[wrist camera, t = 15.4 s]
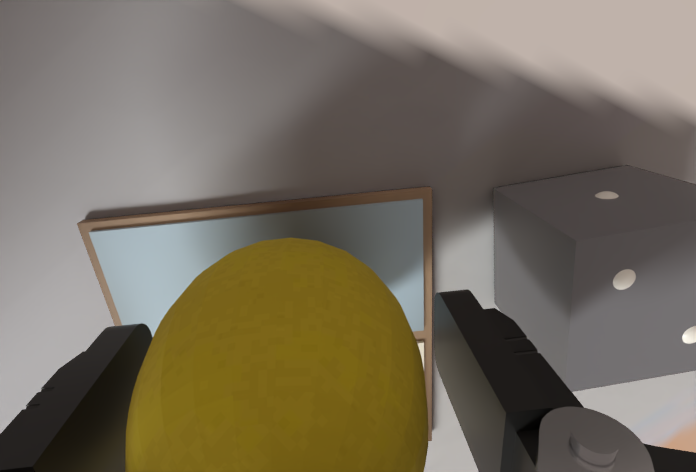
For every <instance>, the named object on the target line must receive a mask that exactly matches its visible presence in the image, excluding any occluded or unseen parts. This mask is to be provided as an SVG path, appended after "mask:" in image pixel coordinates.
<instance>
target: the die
mask: <svg viewBox="0 0 696 472" xmlns="http://www.w3.org/2000/svg"><path fill="white" fill-rule="evenodd" d="M493 208H494V289H495V304H496V305H497V307H498V308H499V309H500V310H501V312H502V313H503V314H505V315H506V316H508V317H509V318H511V319H513V320H514V321H515V322H516V323H517V325H518V326H519V327H520V328H521V330H522V331H523V332H524V333H525V335H526V336H527V339H529V340H530V341H531V342H532V343H533V345H534V346H535V347H536V348H537V351H538V353H541V355H542V356H543V357H544V358H545V360H546V361H547V362H548V363H549V365H550V366H551V367H552V368H553V370H554V371H555V372H556V373H557V375H558V376H559V377H560V378H561V380H562V381H563V382H564V383H565V384H566V386H567V387H568V388H569V389H570V391H571V392H573V391H579V390H585V389H591V388H597V387H602V386H608V385H614V384H620V383H626V382H632V381H637V380H643V379H649V378H655V377H661V376H666V375H672V374H678V373H684V372H690V371H695V370H696V185H695V184H692V183H688V182H685V181H681V180H677V179H674V178H670V177H667V176H663V175H660V174H656V173H653V172H649V171H646V170H642V169H639V168H635V167H632V166H628V165H625V166H620V167H614V168H608V169H602V170H596V171H590V172H584V173H579V174H573V175H567V176H561V177H555V178H549V179H544V180H538V181H532V182H526V183H520V184H514V185H509V186H503V187H497V188H493Z"/></svg>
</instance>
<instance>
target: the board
mask: <svg viewBox="0 0 696 472" xmlns="http://www.w3.org/2000/svg"><path fill="white" fill-rule="evenodd" d="M77 225H78V228H79V230H80V233H81V236H82V238H83V241H84V244H85V247H86V249H87V252H88V255H89V257H90V260H91V263H92V265H93V268H94V271H95V273H96V276H97V279H98V281H99V284H100V287H101V289H102V292H103V295H104V297H105V300H106V303H107V306H108V308H109V311H110V314H111V316H112V319H113V322H114V324H115V326H122V325H131V324H140V323H143V324H146V325H147V326H148V327H149V329H150V331H151V334H152V337H153V336H154V334H155V332H156V330H157V328H158V326H159V324H160V322H161V320H162V319H163V317H164V316H165V314H166V313H167V311H168V310H169V309H170V307H171V306H172V305H173V304H174V303H175V301H176V300H177V299H178V298H179V297H180V295H181V294H182V293H183V292H184V291H185V290H186V288H187V287H188V286H189V285H190V284H191V282H192V281H193V280H194V279H195V278H196V277H197V276H198V275H199V274H201V273H202V272H203V271H204V270H206V269H207V268H209V267H210V266H211V265H213V264H214V263H216V262H217V261H219V260H220V259H222V258H223V257H225V256H226V255H227V254H229V253H231V252H233V251H235V250H238V249H240V248H243V247H246V246H249V245H251V244H254V243H257V242H260V241H264V240H273V239H282V238H299V239H308V240H317V241H320V242H323V243H326V244H328V245H331V246H334V247H337V248H339V249H342V250H345V251H347V252H348V253H350V254H351V255H352V256H354V257H355V258H357V259H358V260H360V261H361V262H363V263H364V264H366V265H367V266H368V267H370V268H371V269H372V270H373V271H374V272H375V273H376V274H377V276H378V277H379V278H380V279H381V280H382V281H383V283H384V284H385V285H386V286H387V287H388V288H389V290H390V291H391V292H392V293H393V294H394V296H395V297H396V298H397V300H398V302H399V303H400V305H401V307H402V309H403V311H404V313H405V316H406V318H407V320H408V323H409V325H410V327H411V329H412V332H413V334H414V336H415V338H416V341H417V344H418V347H419V350H420V353H421V358H422V363H423V367H424V376H425V384H426V396H427V407H428V425H429V430H428V441H432V188H431V187H430V186H429V187H419V188H409V189H398V190H388V191H378V192H367V193H357V194H347V195H336V196H326V197H316V198H305V199H295V200H285V201H274V202H264V203H254V204H244V205H233V206H223V207H213V208H202V209H192V210H182V211H171V212H161V213H151V214H140V215H130V216H120V217H109V218H99V219H89V220H82V221H81V222H79V223H77Z"/></svg>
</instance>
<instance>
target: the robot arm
mask: <svg viewBox="0 0 696 472" xmlns="http://www.w3.org/2000/svg"><path fill="white" fill-rule="evenodd" d="M152 339H153V337H152V334H151V331H150V329H149V327H148V326H147V325H146V324H143V323H140V324H131V325H122V326H112V327H107V328H106V329H105V330H104V331H103V332H102V333H101V334H100V335H99V336H98V337H97V339H96V340H95V341H94V342H93V343H92V344H91V346H90V347H89V348H88V349H87V350H86V351H85V352H82V353H81V354H79V355H78V356H76V357H75V358H74V359H72V360H71V361H69V362H68V363H67V364H65V365H64V366H62V367H61V368H60V369H58V371H57V372H56V373H55V374H54V375H53V376H52V377H51V378H50V379H49V381H48V382H47V383H46V384H45V385H44V386H43V387H42V388H41V389H42V391H41V392H38V393H37V394H36V395H35V396H34V397H33V398H32V400H31V401H30V402H29V403H28V404H27V405H26V406H27V407H26V409H25V410H22V411H21V412H20V413H19V414H18V415H17V416H16V417H15V418H14V420H13V421H12V422H11V423H10V424H9V425H8V426H7V427H6V429H5V430H4V431H3V432H2V433H1V434H0V472H125V449H126V427H127V419H128V412H129V407H130V402H131V398H132V393H133V390H134V386H135V383H136V380H137V376H138V374H139V371H140V369H141V366H142V363H143V361H144V358H145V356H146V354H147V351H148V349H149V346H150V344H151V341H152ZM434 350H435V358H436V363H437V368H438V371H439V374H440V376H441V379H442V381H443V384H444V386H445V389H446V391H447V394H448V396H449V399H450V401H451V404H452V406H453V409H454V411H455V414H456V416H457V418H458V421H459V423H460V426H461V428H462V431H463V433H464V436H465V438H466V441H467V443H468V446H469V448H470V451H471V453H472V456H473V458H474V461H475V463H476V465H477V468H478V470H479V472H696V453H694V452H688V451H681V450H675V449H669V448H663V447H656V446H652V445H647V444H643V443H642V442H641V441H640V439H639V438H638V437H637V436H636V435H635V434H634V433H633V432H632V431H630V430H629V429H628V428H627V427H626V426H624V425H623V424H621V423H620V422H618V421H617V420H615V419H613V418H611V417H609V416H607V415H605V414H602V413H600V412H597V411H594V410H591V409H587V408H584V407H583V406H582V404H581V403H580V402H579V401H578V399H577V398H576V397H575V396H574V394H573V393H572V392H571V391H570V389H569V388H568V387H567V386H566V384H565V383H564V382H563V381H562V380H561V378H560V377H559V376H558V375H557V373H556V372H555V371H554V370H553V368H552V367H551V366H550V365H549V363H548V362H547V361H546V360H545V358H544V357H543V356H542V355H541V353H538V351H537V348H536V347H535V346H534V345H533V343H532V342H531V341H530V340H529V339H527V336H526V335H525V333H524V332H523V331H522V330H521V328H520V327H519V326H518V325H517V323H516V322H515V321H514V320H513V319H511V318H509V317H508V316H506V315H505V314H503V313H501V312H500V311H498V310H497V309H495V308H492V309H483V308H482V307H481V305H480V304H479V303H478V301H477V300H476V298H475V297H474V295H473V294H472V293H471V291H469V290H458V291H449V292H439V293H436V295H435V302H434Z"/></svg>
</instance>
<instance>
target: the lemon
mask: <svg viewBox="0 0 696 472" xmlns="http://www.w3.org/2000/svg"><path fill="white" fill-rule="evenodd" d="M428 430H429V425H428V407H427V396H426V384H425V376H424V367H423V363H422V358H421V353H420V350H419V347H418V344H417V341H416V338H415V336H414V334H413V332H412V329H411V327H410V325H409V323H408V320H407V318H406V316H405V313H404V311H403V309H402V307H401V305H400V303H399V302H398V300H397V298H396V297H395V296H394V294H393V293H392V292H391V291H390V290H389V288H388V287H387V286H386V285H385V284H384V283H383V281H382V280H381V279H380V278H379V277H378V276H377V274H376V273H375V272H374V271H373V270H372V269H371V268H370V267H368V266H367V265H366V264H364V263H363V262H361V261H360V260H358V259H357V258H355V257H354V256H352V255H351V254H350V253H348V252H347V251H345V250H342V249H339V248H337V247H334V246H331V245H328V244H326V243H323V242H320V241H317V240H308V239H299V238H282V239H273V240H264V241H260V242H257V243H254V244H251V245H249V246H246V247H243V248H240V249H238V250H235V251H233V252H231V253H229V254H227V255H226V256H225V257H223V258H222V259H220V260H219V261H217V262H216V263H214V264H213V265H211V266H210V267H209V268H207V269H206V270H204V271H203V272H202V273H201V274H199V275H198V276H197V277H196V278H195V279H194V280H193V281H192V282H191V284H190V285H189V286H188V287H187V288H186V290H185V291H184V292H183V293H182V294H181V295H180V297H179V298H178V299H177V300H176V301H175V303H174V304H173V305H172V306H171V307H170V309H169V310H168V311H167V313H166V314H165V316H164V317H163V319H162V320H161V322H160V324H159V326H158V328H157V330H156V332H155V334H154V336H153V339H152V341H151V344H150V346H149V349H148V351H147V354H146V356H145V358H144V361H143V363H142V366H141V369H140V371H139V374H138V376H137V380H136V383H135V386H134V390H133V393H132V398H131V402H130V407H129V412H128V419H127V427H126V449H125V472H423V471H424V467H425V462H426V455H427V449H428Z"/></svg>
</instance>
